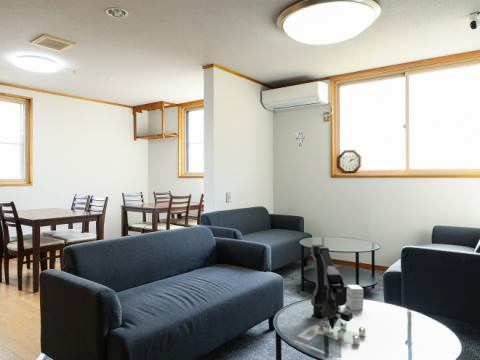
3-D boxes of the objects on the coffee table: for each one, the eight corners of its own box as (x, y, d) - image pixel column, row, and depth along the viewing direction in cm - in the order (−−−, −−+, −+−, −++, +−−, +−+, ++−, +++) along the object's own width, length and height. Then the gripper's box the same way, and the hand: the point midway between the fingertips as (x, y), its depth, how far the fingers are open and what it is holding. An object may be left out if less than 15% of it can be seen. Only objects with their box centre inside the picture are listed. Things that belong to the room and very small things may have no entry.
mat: (313, 332, 169) (313, 331, 169) (325, 324, 179) (325, 322, 179) (357, 348, 155) (357, 346, 155) (367, 337, 165) (367, 336, 165)
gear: (316, 329, 171) (317, 323, 171) (321, 325, 176) (321, 319, 176) (327, 332, 168) (327, 326, 168) (331, 328, 173) (331, 322, 173)
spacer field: (321, 334, 166) (322, 326, 166) (333, 325, 176) (333, 318, 176) (357, 346, 155) (358, 339, 155) (367, 336, 165) (368, 329, 165)
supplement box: (345, 305, 205) (346, 284, 205) (357, 305, 206) (358, 284, 205) (350, 310, 198) (351, 288, 197) (363, 310, 198) (363, 288, 198)
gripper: (308, 297, 169) (307, 328, 170) (344, 307, 157) (343, 341, 158) (318, 291, 178) (318, 321, 178) (353, 300, 166) (353, 332, 166)
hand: (332, 328), depth 170 cm, fingers closed
